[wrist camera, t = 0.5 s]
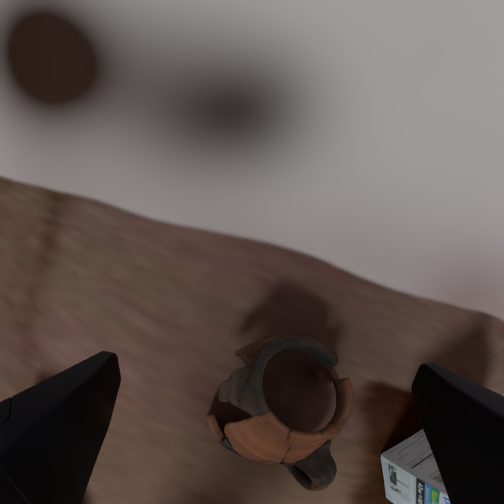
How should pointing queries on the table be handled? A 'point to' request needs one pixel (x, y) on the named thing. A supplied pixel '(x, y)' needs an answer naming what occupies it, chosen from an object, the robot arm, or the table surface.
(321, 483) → the brown hollow fragmented part
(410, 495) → the light bulb box
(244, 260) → the table surface
